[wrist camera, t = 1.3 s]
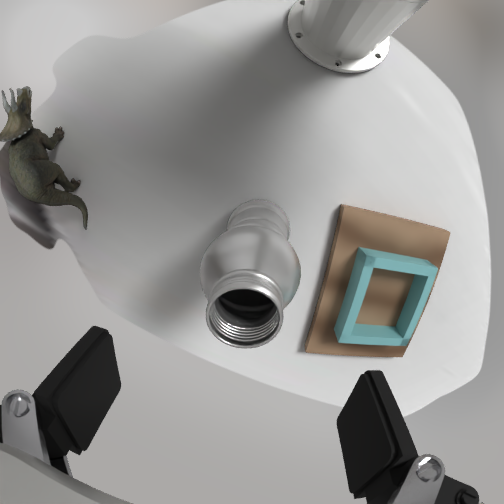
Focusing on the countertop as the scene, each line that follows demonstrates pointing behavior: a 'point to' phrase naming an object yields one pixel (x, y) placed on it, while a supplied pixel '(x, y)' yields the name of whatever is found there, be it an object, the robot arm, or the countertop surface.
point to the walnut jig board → (375, 284)
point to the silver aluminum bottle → (250, 275)
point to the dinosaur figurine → (36, 157)
